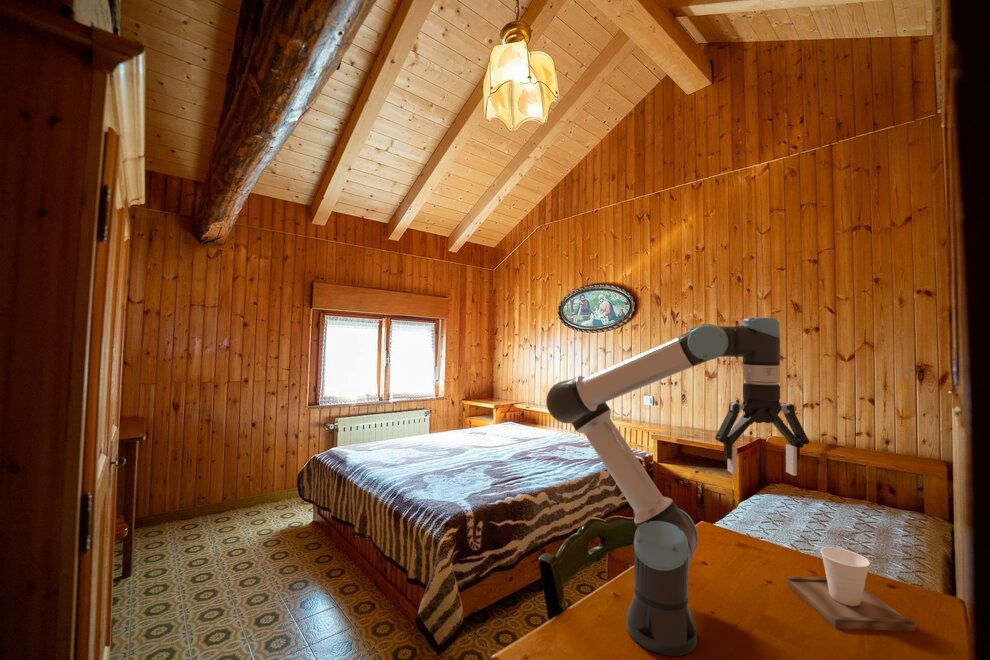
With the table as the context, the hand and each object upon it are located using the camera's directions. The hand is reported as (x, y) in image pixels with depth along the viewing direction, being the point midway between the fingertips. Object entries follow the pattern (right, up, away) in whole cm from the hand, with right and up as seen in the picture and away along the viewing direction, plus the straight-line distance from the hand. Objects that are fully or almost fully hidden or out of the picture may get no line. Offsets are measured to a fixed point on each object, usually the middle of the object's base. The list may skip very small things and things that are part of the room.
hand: (761, 473), depth 100 cm
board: (+27, -37, +9) cm, 47 cm away
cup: (+27, -36, +9) cm, 46 cm away
